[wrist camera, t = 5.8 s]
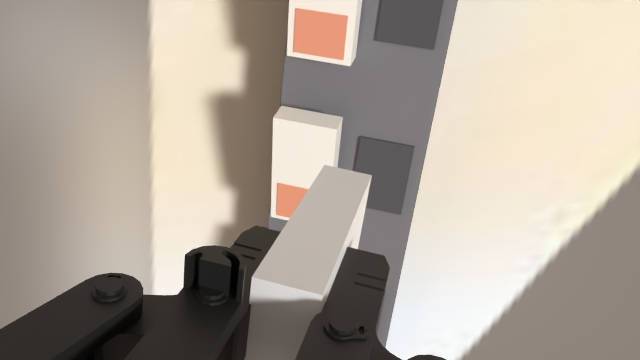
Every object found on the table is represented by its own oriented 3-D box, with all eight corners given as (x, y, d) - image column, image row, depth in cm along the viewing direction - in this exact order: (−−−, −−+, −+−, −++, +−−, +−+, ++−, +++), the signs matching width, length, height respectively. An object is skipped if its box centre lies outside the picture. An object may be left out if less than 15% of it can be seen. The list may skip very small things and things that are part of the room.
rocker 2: (281, 105, 32) (272, 118, 31) (342, 116, 31) (336, 130, 30) (278, 202, 36) (270, 217, 35) (332, 214, 35) (326, 229, 34)
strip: (340, -297, 29) (321, -340, 25) (516, -287, 28) (527, -331, 24) (271, 327, 44) (252, 363, 40) (382, 355, 43) (374, 396, 39)
